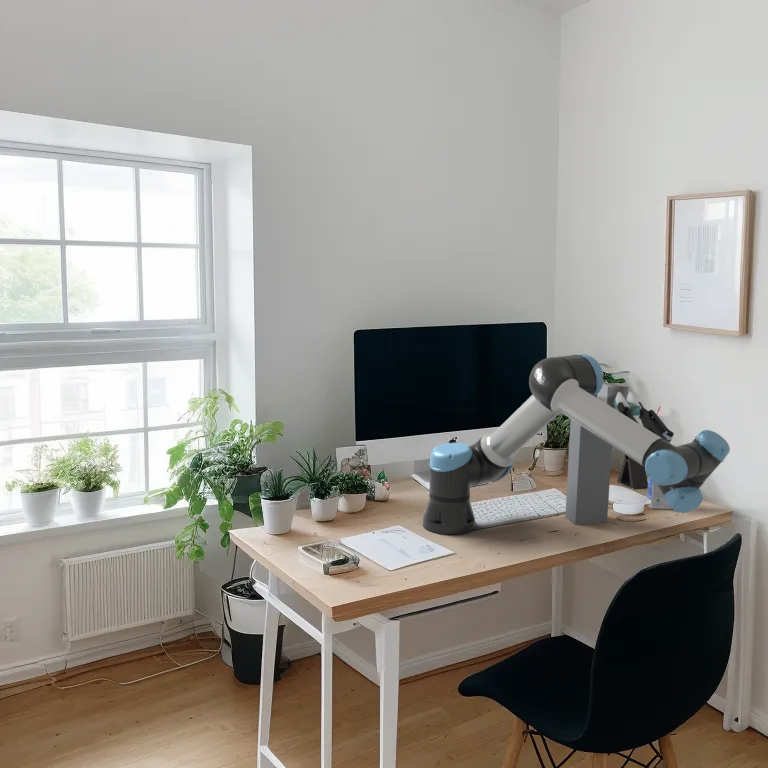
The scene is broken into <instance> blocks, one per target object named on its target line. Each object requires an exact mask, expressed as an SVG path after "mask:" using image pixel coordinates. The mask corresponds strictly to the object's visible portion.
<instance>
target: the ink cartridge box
mask: <svg viewBox="0 0 768 768" xmlns="http://www.w3.org/2000/svg"><path fill="white" fill-rule="evenodd" d="M647 482H648V488H647V496H646V499H647V498H648V499H650V500H651V503H650V504H649V505H647V506H648V508H649V509H652V510H655V509H657V510H663V509H664V510H665V509H666V510H673V509H672V507H671V506H670V505H669V503H668V502H667V500H666V499H665V498H664V495H663V493H662V492H661V490H660V488H659V486H658V484H655V483H654V482H652V481H651V480H650V478H649V477H648V476H647Z"/></svg>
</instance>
